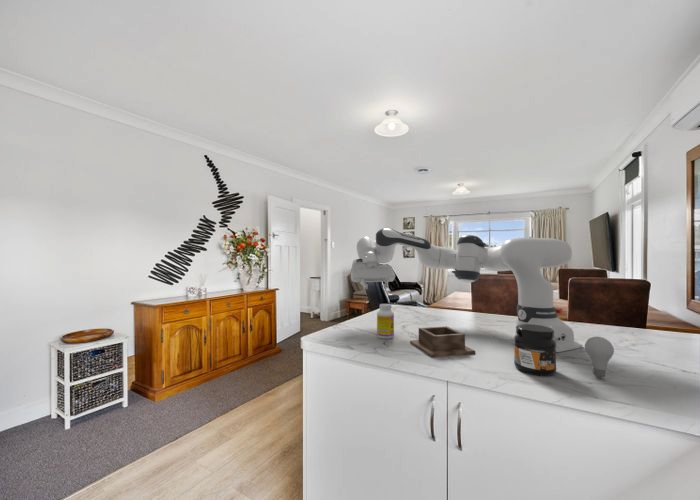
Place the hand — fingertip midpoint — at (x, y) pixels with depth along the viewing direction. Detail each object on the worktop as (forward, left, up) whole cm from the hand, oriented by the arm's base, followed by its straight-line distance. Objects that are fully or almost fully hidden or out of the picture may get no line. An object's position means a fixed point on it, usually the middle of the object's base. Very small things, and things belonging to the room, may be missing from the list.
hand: (376, 288), depth 136 cm
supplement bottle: (+1, +13, -18) cm, 22 cm away
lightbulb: (-41, +64, -18) cm, 78 cm away
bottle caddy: (-13, +31, -18) cm, 38 cm away
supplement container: (-29, +55, -18) cm, 65 cm away
